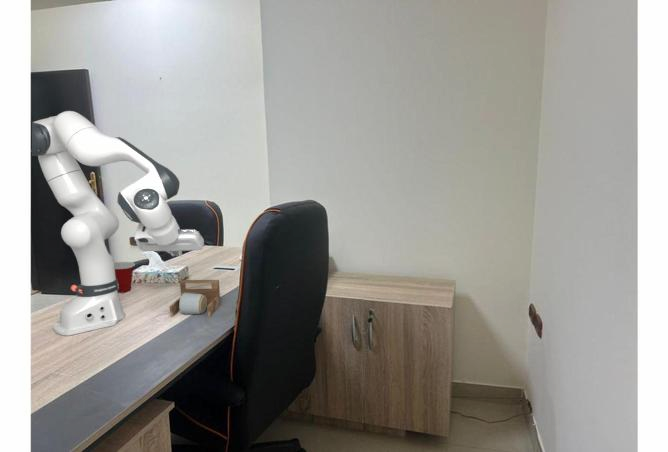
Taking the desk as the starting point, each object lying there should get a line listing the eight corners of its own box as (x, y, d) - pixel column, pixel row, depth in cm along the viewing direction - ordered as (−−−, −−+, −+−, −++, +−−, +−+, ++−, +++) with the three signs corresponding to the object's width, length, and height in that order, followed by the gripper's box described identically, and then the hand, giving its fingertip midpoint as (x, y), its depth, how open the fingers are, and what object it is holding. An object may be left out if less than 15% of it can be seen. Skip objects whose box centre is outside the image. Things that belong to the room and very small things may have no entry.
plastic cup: (133, 293, 190) (130, 266, 188) (106, 295, 189) (103, 268, 187) (140, 286, 201) (138, 260, 199) (115, 287, 199) (112, 261, 197)
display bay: (210, 316, 162) (208, 290, 160) (170, 317, 162) (168, 290, 161) (220, 304, 174) (218, 279, 172) (183, 304, 175) (181, 280, 173)
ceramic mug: (201, 317, 162) (199, 296, 161) (179, 316, 163) (177, 296, 161) (211, 307, 172) (210, 287, 171) (191, 306, 173) (189, 287, 172)
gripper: (199, 221, 140) (210, 245, 151) (134, 222, 140) (149, 246, 151) (196, 238, 136) (207, 261, 148) (128, 239, 137) (145, 263, 148)
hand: (177, 254), depth 150 cm, fingers closed
